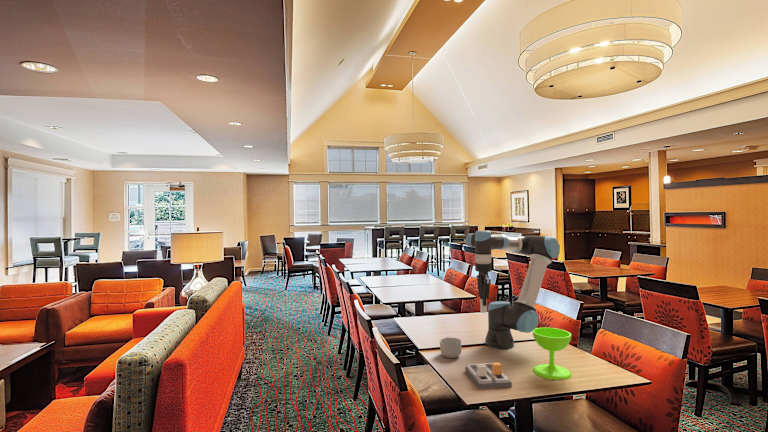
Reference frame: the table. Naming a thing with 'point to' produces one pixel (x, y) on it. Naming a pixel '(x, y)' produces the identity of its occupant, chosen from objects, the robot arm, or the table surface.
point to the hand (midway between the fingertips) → (483, 312)
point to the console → (487, 377)
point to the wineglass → (551, 351)
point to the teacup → (450, 347)
